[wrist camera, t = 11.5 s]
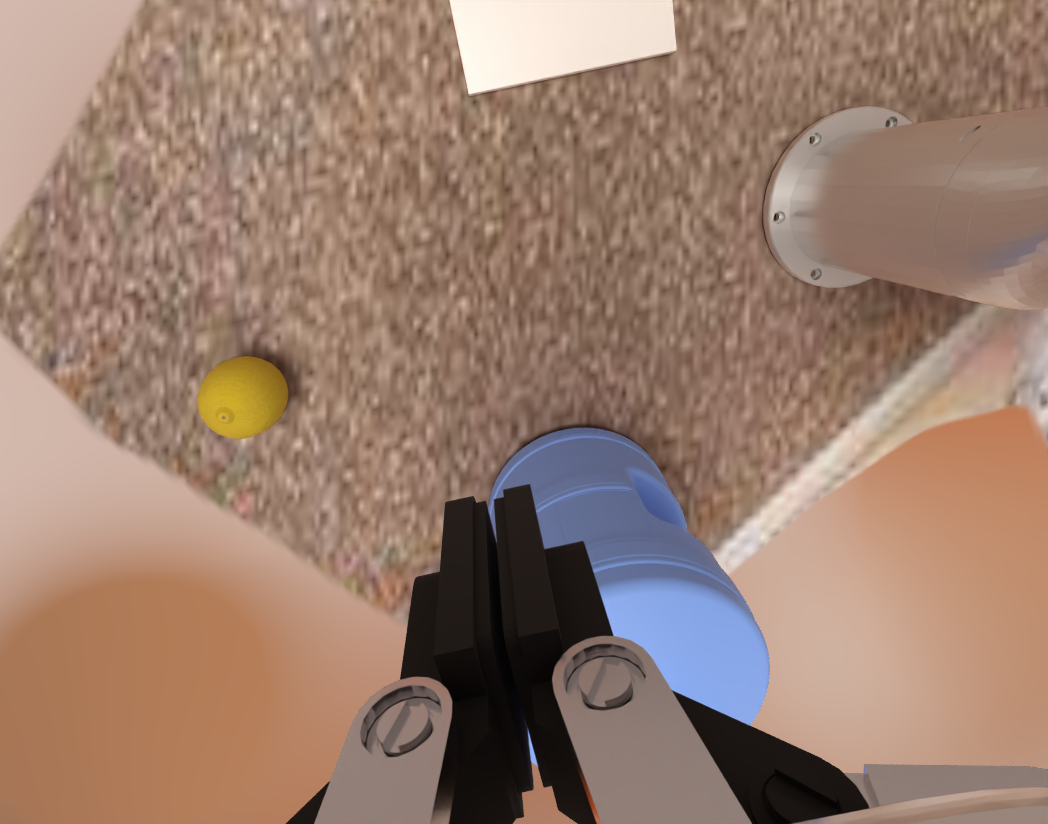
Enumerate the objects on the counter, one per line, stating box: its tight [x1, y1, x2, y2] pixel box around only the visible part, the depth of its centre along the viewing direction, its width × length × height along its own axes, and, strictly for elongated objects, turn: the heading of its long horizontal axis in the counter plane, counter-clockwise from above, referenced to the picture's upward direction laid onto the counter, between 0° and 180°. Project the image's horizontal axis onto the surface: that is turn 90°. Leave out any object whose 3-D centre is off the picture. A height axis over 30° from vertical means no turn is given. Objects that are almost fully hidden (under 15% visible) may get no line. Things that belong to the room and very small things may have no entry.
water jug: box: [488, 428, 770, 766], centre depth 39 cm, size 16×16×28 cm
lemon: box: [198, 356, 288, 439], centre depth 42 cm, size 6×6×8 cm
